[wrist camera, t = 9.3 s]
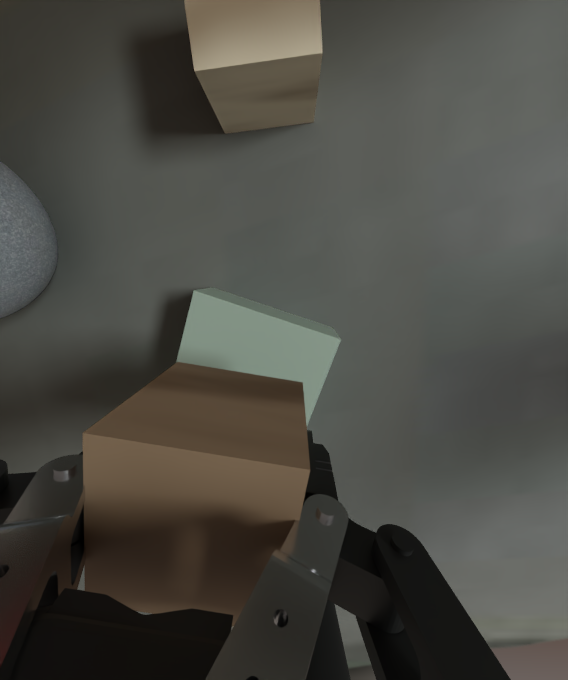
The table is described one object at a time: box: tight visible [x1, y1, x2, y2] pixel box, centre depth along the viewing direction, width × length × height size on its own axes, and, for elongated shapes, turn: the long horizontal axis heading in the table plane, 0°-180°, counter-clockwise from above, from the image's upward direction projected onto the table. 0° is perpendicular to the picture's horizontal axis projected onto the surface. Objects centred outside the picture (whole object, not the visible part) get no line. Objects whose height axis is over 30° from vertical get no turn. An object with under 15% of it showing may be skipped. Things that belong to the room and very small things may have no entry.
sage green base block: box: [176, 287, 341, 426], centre depth 19 cm, size 9×9×4 cm
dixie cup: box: [306, 600, 350, 680], centre depth 19 cm, size 8×8×11 cm
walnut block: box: [83, 362, 310, 626], centre depth 10 cm, size 6×6×6 cm
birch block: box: [184, 0, 323, 134], centre depth 14 cm, size 6×6×6 cm
